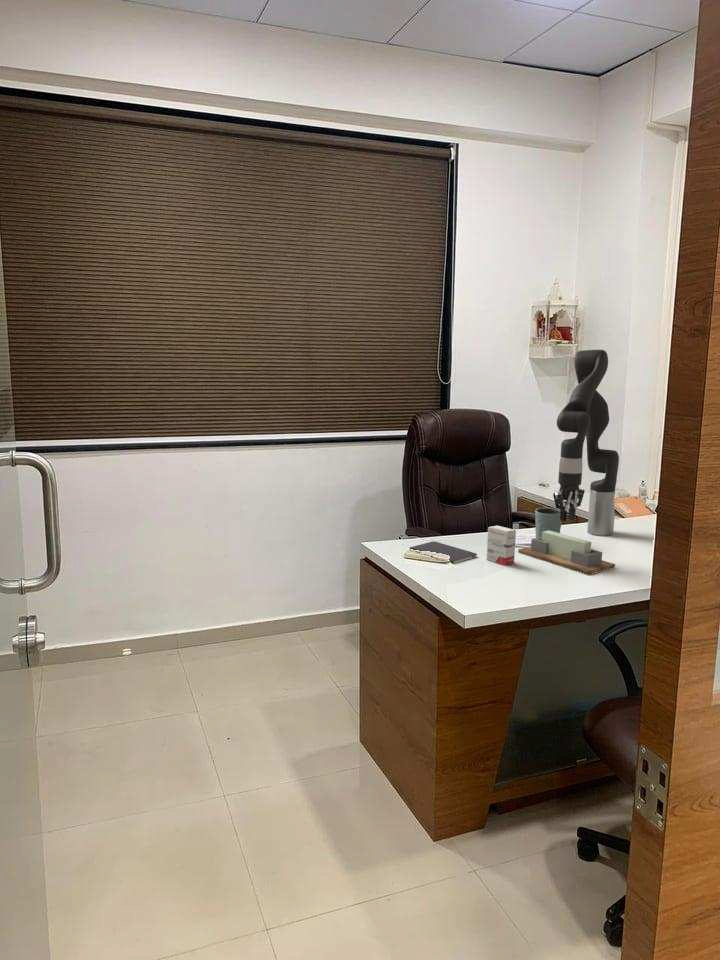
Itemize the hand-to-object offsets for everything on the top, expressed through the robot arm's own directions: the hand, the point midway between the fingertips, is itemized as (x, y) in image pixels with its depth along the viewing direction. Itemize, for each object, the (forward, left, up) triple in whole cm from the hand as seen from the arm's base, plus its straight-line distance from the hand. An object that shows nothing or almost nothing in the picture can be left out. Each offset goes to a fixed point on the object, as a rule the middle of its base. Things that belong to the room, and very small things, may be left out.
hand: (567, 519), depth 239 cm
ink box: (+20, -11, -14) cm, 27 cm away
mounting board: (0, 0, -14) cm, 14 cm away
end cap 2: (0, +9, -13) cm, 16 cm away
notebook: (+30, -29, -15) cm, 44 cm away
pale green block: (0, 0, -13) cm, 13 cm away
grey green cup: (-13, -19, -14) cm, 27 cm away
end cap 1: (0, -9, -13) cm, 16 cm away
